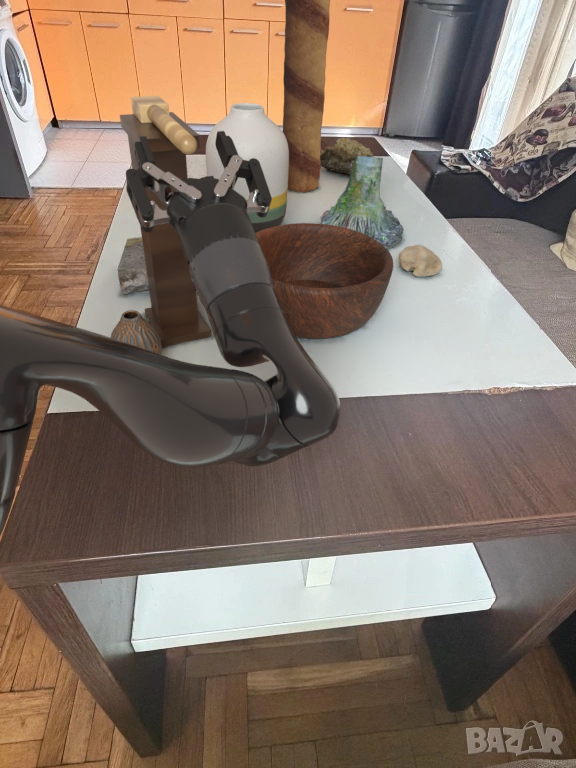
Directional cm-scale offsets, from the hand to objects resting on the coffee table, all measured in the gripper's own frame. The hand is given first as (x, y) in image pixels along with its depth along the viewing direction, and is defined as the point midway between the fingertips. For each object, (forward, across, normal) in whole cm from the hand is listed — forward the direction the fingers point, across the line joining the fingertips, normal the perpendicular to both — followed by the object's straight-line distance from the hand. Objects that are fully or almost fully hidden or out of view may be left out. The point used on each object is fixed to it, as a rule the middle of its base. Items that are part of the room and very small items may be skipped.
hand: (181, 139), depth 57 cm
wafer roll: (+41, -48, +60) cm, 87 cm away
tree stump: (+14, -48, +44) cm, 67 cm away
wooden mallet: (+6, 0, +5) cm, 8 cm away
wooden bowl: (-8, -23, +31) cm, 39 cm away
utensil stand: (-6, 0, +32) cm, 33 cm away
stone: (-3, -49, +34) cm, 60 cm away
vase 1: (-13, +8, +28) cm, 32 cm away
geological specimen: (+9, -1, +41) cm, 42 cm away
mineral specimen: (+46, -66, +62) cm, 101 cm away
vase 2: (+23, -25, +50) cm, 60 cm away
